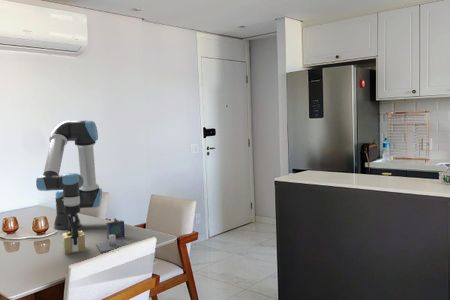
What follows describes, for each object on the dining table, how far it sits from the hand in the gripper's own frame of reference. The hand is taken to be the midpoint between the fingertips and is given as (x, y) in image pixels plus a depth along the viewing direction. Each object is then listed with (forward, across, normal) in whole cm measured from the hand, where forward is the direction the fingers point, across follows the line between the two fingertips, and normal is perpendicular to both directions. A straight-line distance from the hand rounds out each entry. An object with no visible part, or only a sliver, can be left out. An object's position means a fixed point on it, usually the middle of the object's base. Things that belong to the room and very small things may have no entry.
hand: (73, 247), depth 207 cm
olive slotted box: (+1, 0, 0) cm, 1 cm away
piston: (+1, +5, +18) cm, 19 cm away
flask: (+2, -11, +23) cm, 26 cm away
